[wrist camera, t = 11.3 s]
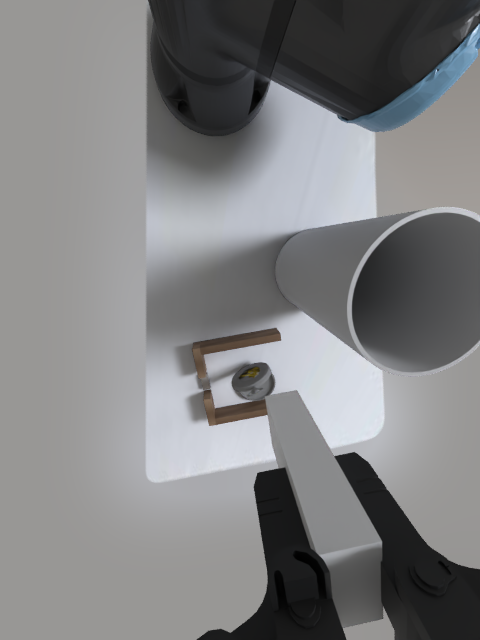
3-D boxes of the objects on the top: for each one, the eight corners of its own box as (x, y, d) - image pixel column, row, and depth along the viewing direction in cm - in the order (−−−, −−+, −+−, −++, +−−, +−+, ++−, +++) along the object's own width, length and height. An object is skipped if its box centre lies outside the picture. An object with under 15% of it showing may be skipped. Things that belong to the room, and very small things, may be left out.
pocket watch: (261, 403, 50) (272, 441, 40) (221, 383, 48) (223, 418, 38) (286, 368, 48) (303, 398, 38) (246, 346, 46) (254, 372, 37)
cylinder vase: (262, 247, 42) (325, 251, 18) (336, 215, 42) (500, 176, 18) (289, 318, 46) (371, 399, 22) (357, 289, 45) (518, 339, 21)
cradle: (193, 342, 45) (192, 349, 42) (276, 327, 46) (280, 333, 43) (209, 415, 49) (209, 426, 46) (285, 400, 50) (289, 410, 47)
